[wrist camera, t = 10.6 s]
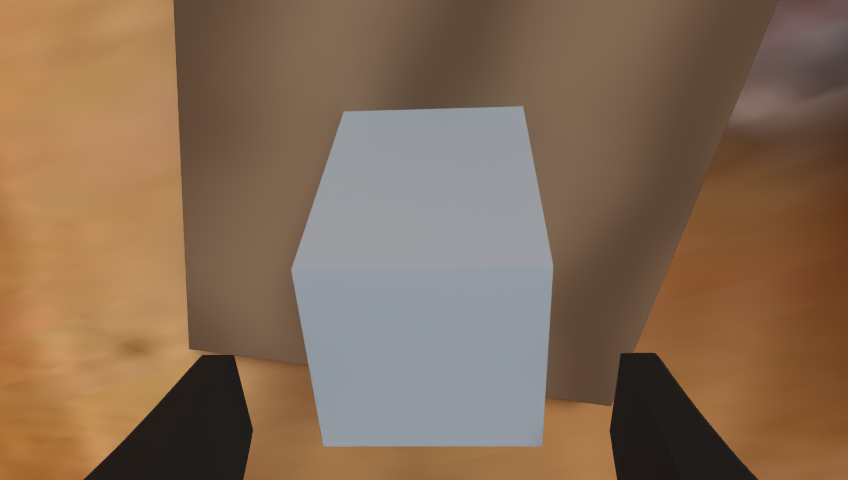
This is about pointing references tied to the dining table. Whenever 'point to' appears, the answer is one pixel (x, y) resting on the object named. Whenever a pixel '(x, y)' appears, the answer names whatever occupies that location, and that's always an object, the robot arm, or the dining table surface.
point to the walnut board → (442, 89)
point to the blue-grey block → (427, 281)
